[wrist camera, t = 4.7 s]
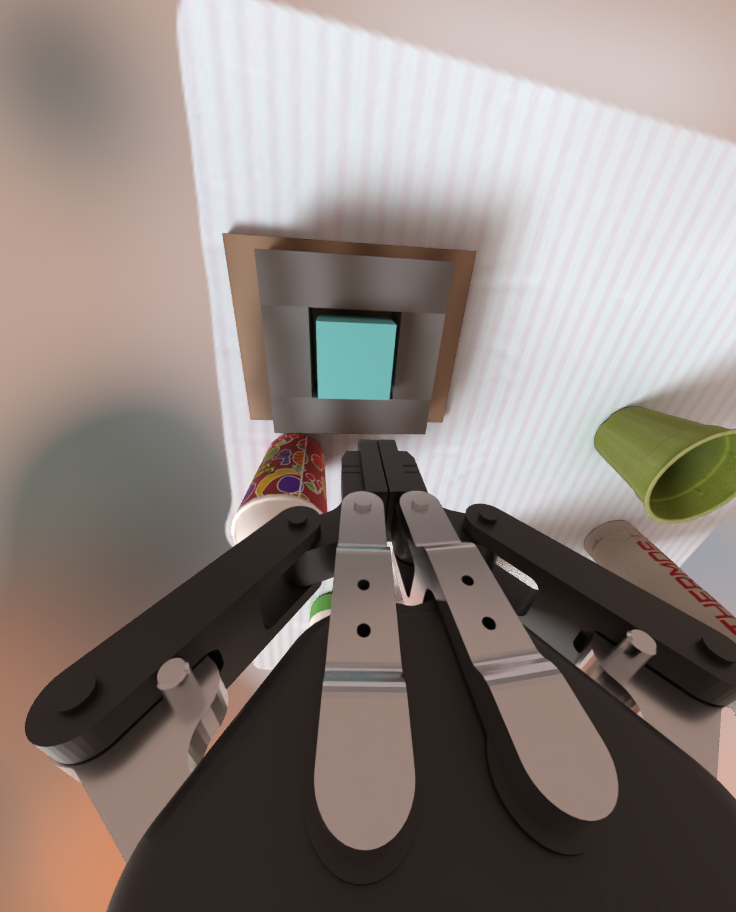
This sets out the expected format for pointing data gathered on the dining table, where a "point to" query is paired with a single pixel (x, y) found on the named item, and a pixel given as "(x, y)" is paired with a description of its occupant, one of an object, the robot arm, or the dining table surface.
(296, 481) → the smoothie
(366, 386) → the button plunger
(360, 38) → the dining table surface
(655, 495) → the plant pot
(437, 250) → the button console
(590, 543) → the thermos bottle
